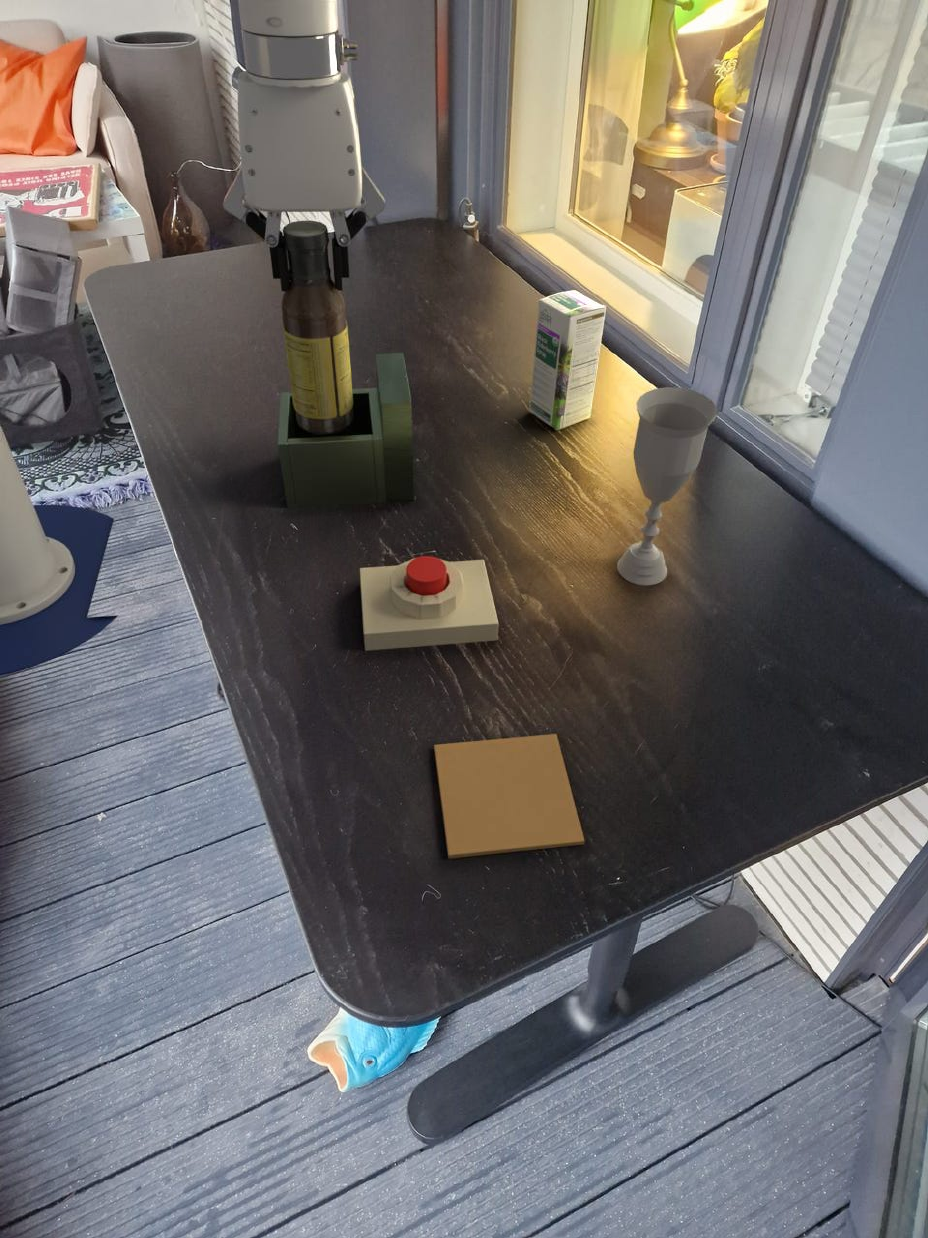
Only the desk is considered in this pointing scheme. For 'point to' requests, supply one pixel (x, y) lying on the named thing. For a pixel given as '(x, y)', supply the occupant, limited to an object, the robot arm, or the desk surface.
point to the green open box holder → (353, 447)
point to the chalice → (664, 466)
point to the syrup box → (566, 358)
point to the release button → (426, 575)
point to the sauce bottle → (316, 333)
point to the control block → (427, 608)
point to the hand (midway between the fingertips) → (312, 283)
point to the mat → (505, 796)
